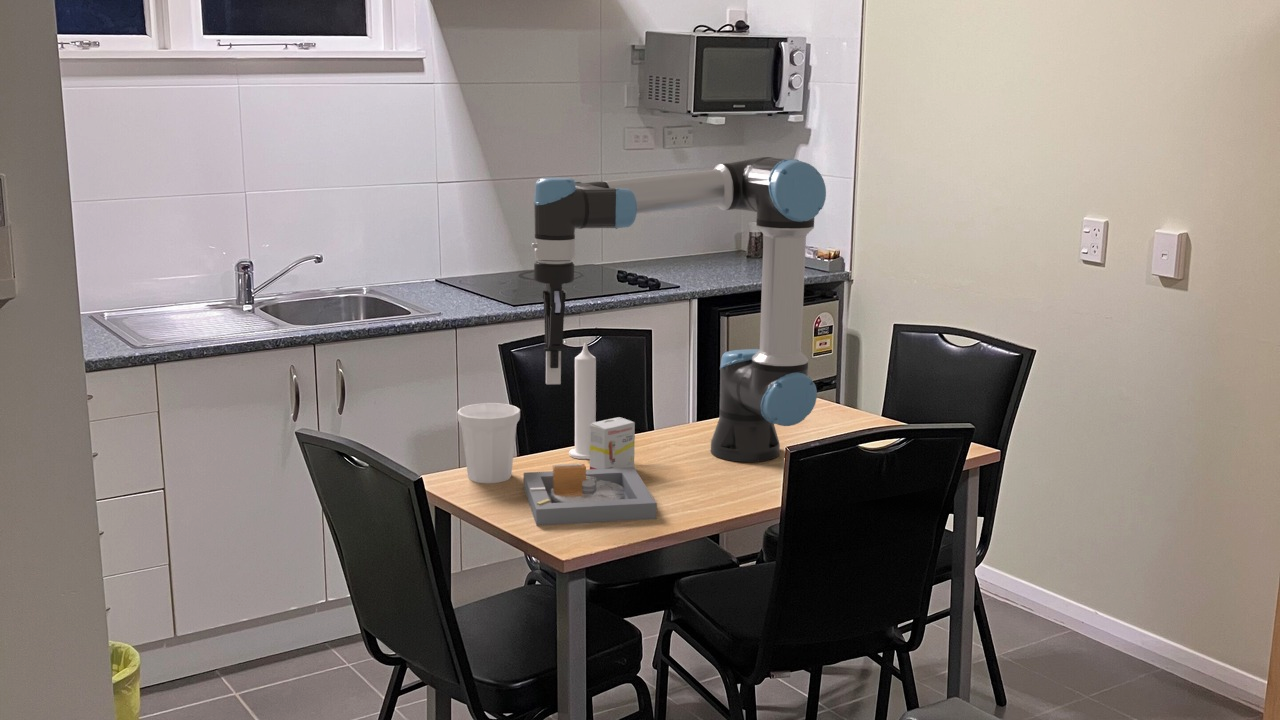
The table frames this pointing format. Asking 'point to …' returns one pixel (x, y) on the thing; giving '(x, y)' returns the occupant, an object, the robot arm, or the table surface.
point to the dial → (581, 486)
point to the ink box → (612, 444)
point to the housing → (631, 508)
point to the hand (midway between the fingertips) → (553, 383)
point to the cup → (489, 440)
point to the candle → (584, 402)
